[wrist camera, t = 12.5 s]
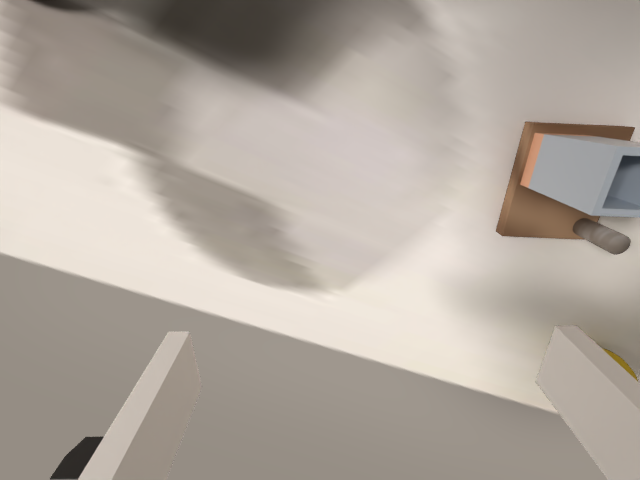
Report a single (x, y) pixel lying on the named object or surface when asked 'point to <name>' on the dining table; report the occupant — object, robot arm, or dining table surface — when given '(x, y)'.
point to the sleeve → (586, 173)
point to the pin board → (549, 214)
